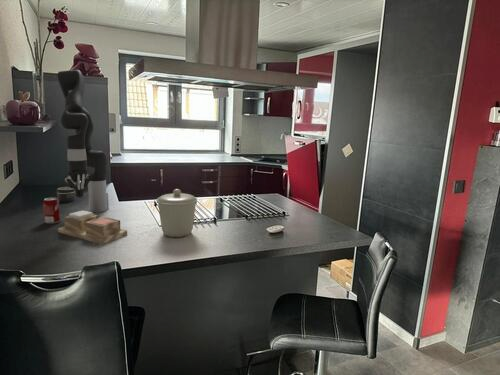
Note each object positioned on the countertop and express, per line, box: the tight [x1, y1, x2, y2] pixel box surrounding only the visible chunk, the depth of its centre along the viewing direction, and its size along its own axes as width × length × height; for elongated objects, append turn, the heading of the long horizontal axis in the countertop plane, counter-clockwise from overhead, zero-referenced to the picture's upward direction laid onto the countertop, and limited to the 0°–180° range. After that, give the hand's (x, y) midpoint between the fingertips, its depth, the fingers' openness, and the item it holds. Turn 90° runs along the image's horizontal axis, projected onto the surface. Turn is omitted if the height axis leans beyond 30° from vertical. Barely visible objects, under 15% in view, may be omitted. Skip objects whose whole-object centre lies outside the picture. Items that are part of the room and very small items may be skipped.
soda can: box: [42, 197, 61, 225], centre depth 171 cm, size 7×7×12 cm
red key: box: [91, 217, 115, 225], centre depth 154 cm, size 7×7×3 cm
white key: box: [68, 210, 94, 220], centre depth 160 cm, size 7×7×3 cm
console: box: [57, 213, 128, 245], centre depth 158 cm, size 14×28×7 cm, turn 63°
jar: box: [56, 186, 76, 203], centre depth 215 cm, size 10×10×8 cm
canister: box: [155, 188, 198, 238], centre depth 160 cm, size 18×18×21 cm
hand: (79, 197), depth 158 cm, fingers closed
